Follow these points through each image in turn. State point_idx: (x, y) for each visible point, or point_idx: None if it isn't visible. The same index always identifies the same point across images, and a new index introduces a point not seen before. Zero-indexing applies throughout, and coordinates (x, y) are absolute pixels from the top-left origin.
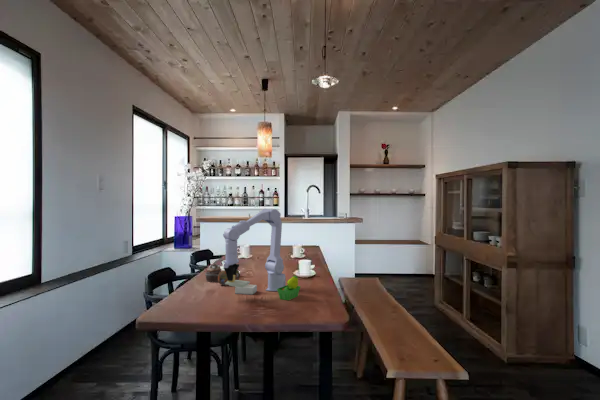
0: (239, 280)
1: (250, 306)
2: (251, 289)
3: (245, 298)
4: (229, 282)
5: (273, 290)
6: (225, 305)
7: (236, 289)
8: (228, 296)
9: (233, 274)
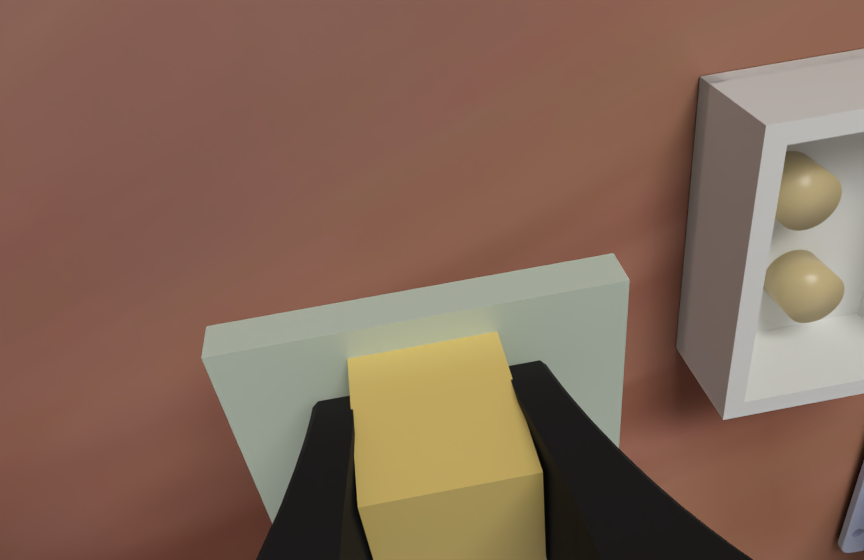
0: None
1: (175, 550)
2: (713, 386)
3: None
4: (295, 418)
5: (862, 482)
6: (11, 302)
7: (735, 135)
8: (501, 55)
9: (556, 542)
